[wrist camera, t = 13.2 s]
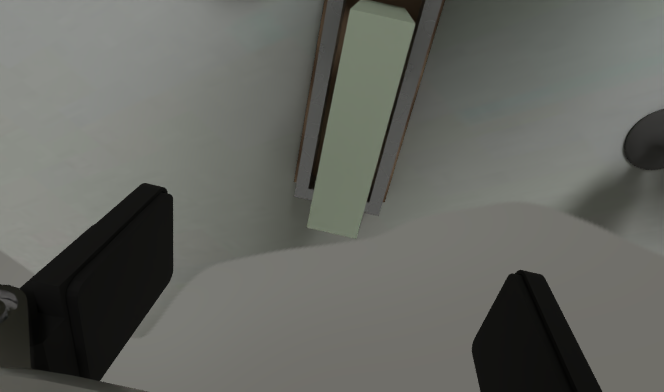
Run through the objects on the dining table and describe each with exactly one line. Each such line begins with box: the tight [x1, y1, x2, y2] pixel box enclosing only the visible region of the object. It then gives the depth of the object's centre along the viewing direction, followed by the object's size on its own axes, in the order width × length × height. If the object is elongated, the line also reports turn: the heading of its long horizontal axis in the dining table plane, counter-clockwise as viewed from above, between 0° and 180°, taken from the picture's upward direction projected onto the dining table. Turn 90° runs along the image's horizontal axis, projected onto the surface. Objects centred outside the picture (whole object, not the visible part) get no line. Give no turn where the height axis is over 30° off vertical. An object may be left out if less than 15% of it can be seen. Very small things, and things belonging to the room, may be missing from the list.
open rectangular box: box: [294, 0, 445, 216], centre depth 30 cm, size 18×8×4 cm, turn 169°
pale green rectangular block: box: [307, 0, 415, 239], centre depth 26 cm, size 12×3×11 cm, turn 169°
